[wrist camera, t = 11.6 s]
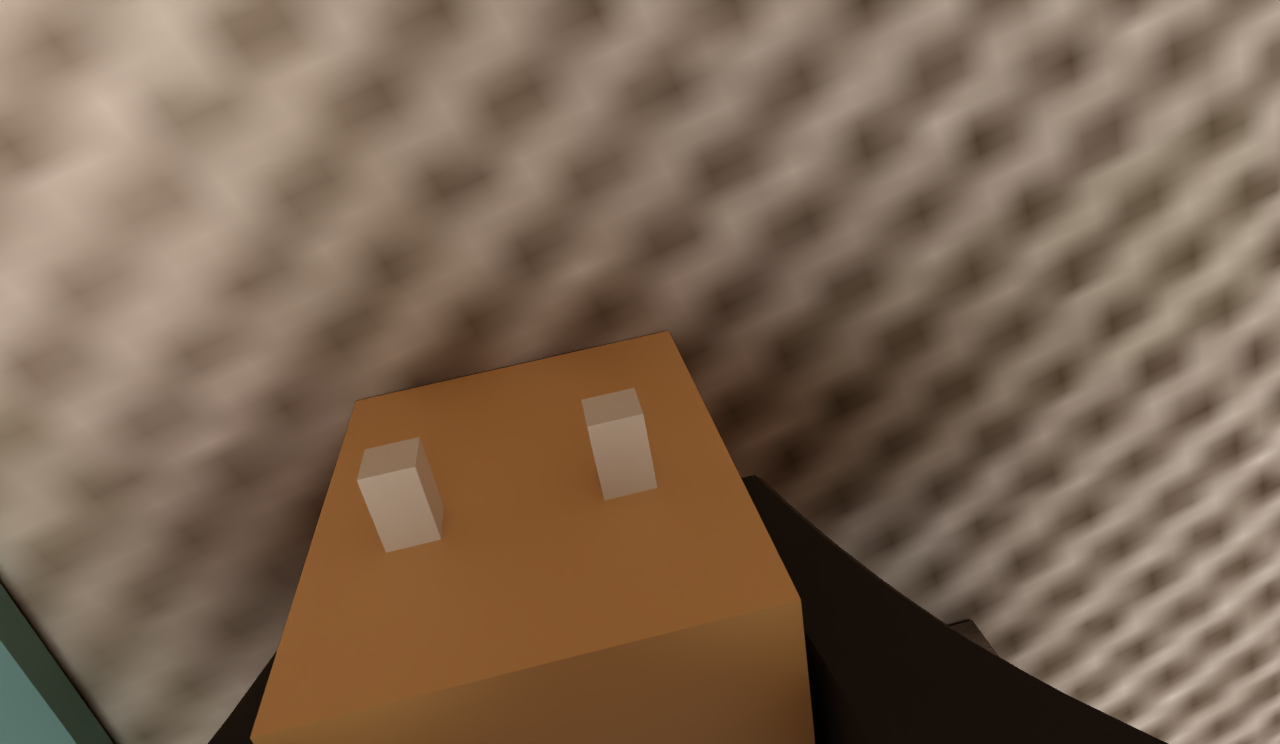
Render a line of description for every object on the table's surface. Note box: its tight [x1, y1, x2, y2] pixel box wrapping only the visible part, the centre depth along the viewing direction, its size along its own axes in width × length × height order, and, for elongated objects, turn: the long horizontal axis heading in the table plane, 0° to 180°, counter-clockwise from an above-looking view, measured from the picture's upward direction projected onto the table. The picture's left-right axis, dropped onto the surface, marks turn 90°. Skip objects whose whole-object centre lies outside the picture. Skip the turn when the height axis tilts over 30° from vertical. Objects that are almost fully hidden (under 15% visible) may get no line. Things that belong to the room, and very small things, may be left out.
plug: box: [250, 331, 815, 744], centre depth 9 cm, size 5×4×5 cm
